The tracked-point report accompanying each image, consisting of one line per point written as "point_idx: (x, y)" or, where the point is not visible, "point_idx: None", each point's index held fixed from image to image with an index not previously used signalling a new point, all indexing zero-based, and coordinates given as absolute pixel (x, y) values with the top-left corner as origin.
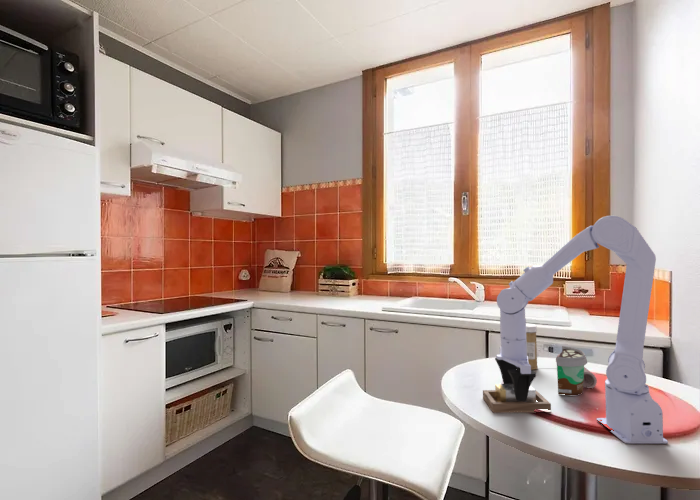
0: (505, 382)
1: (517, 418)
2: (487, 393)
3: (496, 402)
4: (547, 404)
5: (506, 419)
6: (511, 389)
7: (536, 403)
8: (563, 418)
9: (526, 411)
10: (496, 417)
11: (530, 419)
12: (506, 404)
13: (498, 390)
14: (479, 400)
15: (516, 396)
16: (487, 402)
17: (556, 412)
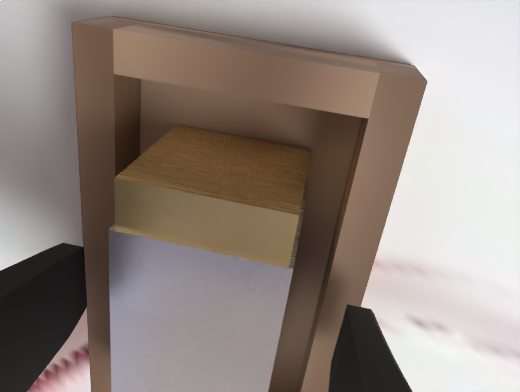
0: (347, 342)
1: (31, 150)
2: (329, 92)
3: (108, 76)
4: (93, 389)
5: (9, 66)
6: (124, 287)
7: (92, 344)
8: (53, 371)
9: None
10: (33, 3)
11: (26, 218)
12: (80, 146)
13: (193, 180)
14: (374, 4)
15: (34, 255)
16: (265, 44)
17: None
